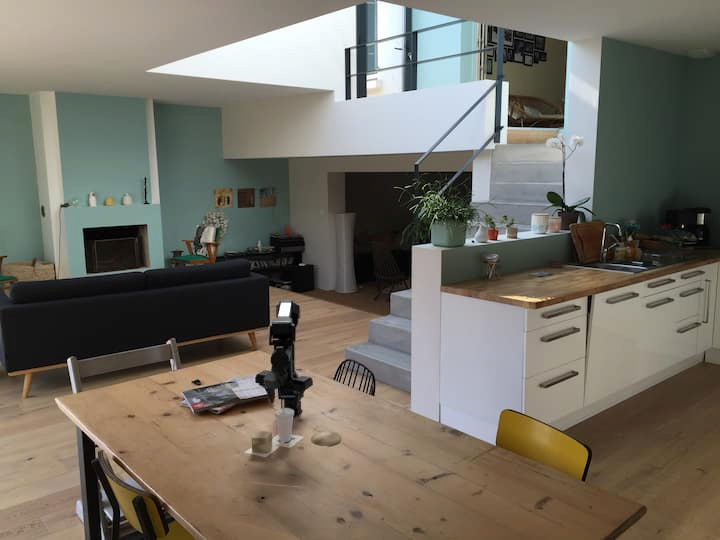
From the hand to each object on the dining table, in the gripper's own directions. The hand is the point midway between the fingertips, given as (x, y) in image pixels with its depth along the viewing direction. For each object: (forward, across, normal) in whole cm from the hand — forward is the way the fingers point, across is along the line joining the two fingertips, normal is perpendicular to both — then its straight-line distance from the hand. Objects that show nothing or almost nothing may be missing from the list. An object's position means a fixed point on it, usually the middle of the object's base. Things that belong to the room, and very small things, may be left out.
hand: (284, 405), depth 195 cm
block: (+12, -3, -9) cm, 15 cm away
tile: (+12, -3, -9) cm, 15 cm away
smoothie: (+12, 0, 0) cm, 12 cm away
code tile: (+12, 0, 0) cm, 12 cm away
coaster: (+12, +12, +6) cm, 18 cm away
